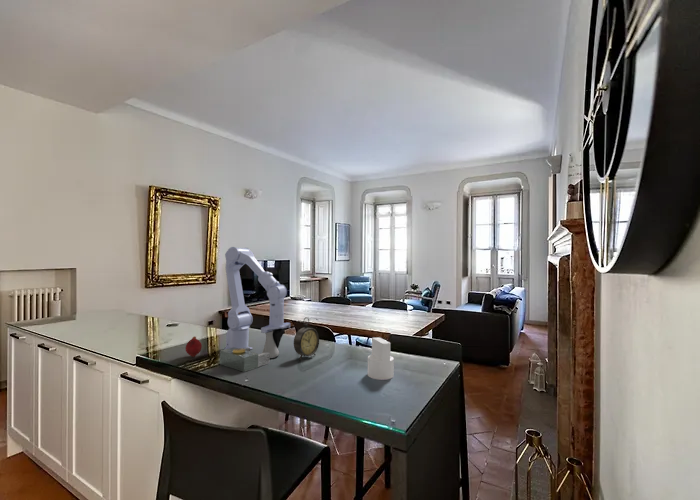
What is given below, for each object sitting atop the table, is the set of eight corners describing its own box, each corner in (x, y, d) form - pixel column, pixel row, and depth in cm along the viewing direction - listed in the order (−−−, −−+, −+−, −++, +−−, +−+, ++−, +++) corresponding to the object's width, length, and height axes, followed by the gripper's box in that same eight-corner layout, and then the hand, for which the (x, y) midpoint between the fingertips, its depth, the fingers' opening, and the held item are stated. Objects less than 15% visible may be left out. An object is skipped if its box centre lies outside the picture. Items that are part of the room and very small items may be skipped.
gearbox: (219, 364, 126) (220, 348, 126) (246, 356, 136) (246, 342, 136) (244, 371, 118) (244, 355, 118) (270, 363, 128) (270, 348, 128)
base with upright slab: (363, 372, 120) (364, 338, 121) (386, 369, 124) (386, 336, 124) (374, 381, 112) (374, 344, 112) (398, 378, 115) (398, 342, 116)
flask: (282, 352, 140) (280, 328, 139) (275, 359, 133) (274, 334, 132) (265, 351, 141) (263, 328, 140) (258, 358, 134) (256, 334, 133)
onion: (197, 359, 131) (197, 338, 132) (182, 358, 132) (183, 338, 132) (203, 354, 137) (204, 335, 137) (189, 354, 137) (190, 334, 138)
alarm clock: (300, 362, 130) (301, 319, 131) (290, 359, 134) (291, 318, 134) (319, 356, 139) (320, 316, 140) (310, 353, 142) (311, 314, 143)
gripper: (270, 317, 131) (269, 353, 131) (296, 313, 143) (295, 345, 143) (257, 315, 135) (256, 350, 135) (284, 311, 147) (283, 343, 147)
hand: (275, 347), depth 139 cm, fingers closed
